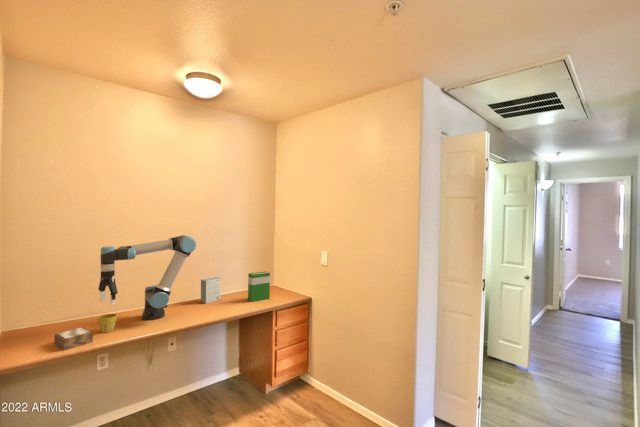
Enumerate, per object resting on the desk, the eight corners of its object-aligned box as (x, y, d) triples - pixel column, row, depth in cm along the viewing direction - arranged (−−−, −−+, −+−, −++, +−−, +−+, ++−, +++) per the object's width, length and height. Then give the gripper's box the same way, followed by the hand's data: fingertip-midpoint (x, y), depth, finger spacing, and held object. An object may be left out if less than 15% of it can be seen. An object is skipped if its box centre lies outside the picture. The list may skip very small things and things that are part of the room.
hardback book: (265, 297, 290) (265, 271, 290) (269, 298, 284) (269, 272, 284) (248, 300, 279) (248, 273, 279) (251, 302, 273) (252, 274, 273)
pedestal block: (82, 336, 193) (82, 326, 193) (92, 342, 186) (92, 331, 186) (54, 344, 181) (54, 333, 181) (63, 350, 174) (63, 339, 174)
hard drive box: (215, 298, 283) (215, 276, 283) (220, 299, 279) (221, 277, 279) (200, 302, 270) (200, 279, 270) (205, 303, 266) (205, 280, 266)
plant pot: (105, 327, 208) (105, 313, 208) (120, 328, 208) (120, 313, 208) (93, 333, 198) (93, 318, 198) (109, 334, 198) (109, 318, 198)
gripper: (92, 269, 206) (92, 301, 206) (110, 273, 193) (110, 307, 193) (104, 267, 212) (104, 298, 212) (123, 271, 199) (123, 304, 199)
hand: (107, 302), depth 203 cm, fingers open, 13 cm apart
